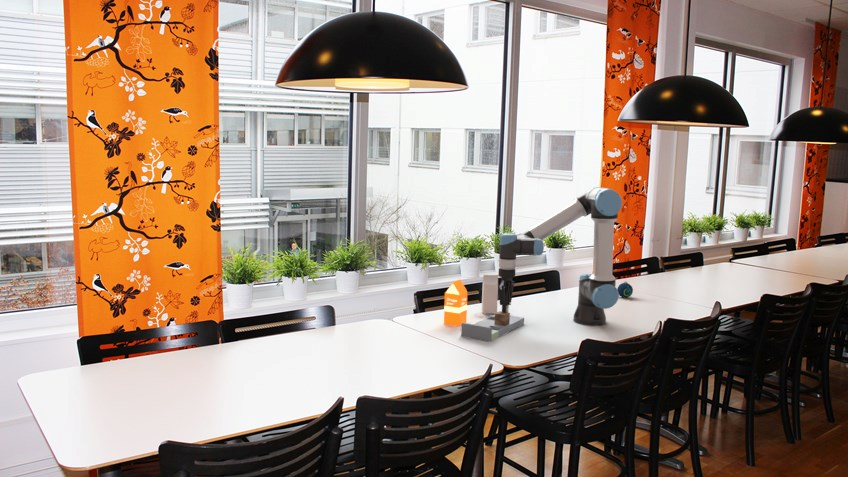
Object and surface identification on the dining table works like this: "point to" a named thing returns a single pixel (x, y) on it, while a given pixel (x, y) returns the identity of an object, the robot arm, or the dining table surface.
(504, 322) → the walnut cube
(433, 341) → the dining table surface
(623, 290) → the christmas ornament
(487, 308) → the milk carton
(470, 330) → the board
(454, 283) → the orange juice
